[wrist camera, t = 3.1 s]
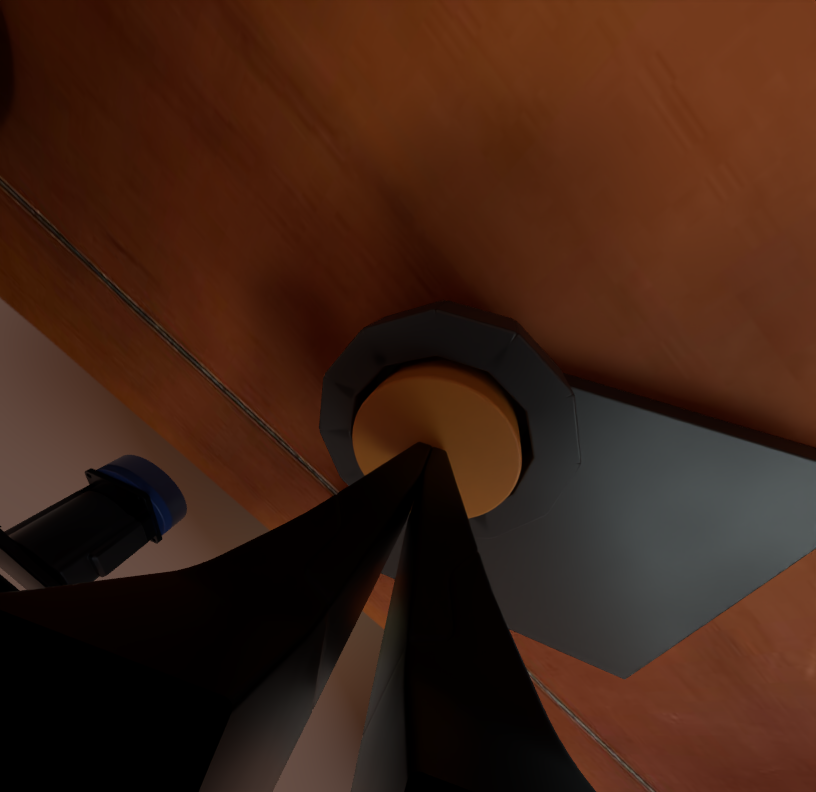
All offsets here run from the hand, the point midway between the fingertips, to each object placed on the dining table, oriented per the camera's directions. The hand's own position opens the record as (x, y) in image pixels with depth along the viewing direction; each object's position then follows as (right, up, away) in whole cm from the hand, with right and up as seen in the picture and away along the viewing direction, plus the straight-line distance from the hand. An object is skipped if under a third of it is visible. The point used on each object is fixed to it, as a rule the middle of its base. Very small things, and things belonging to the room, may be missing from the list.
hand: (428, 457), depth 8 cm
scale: (+4, -3, +4) cm, 7 cm away
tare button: (+1, +1, +2) cm, 2 cm away
